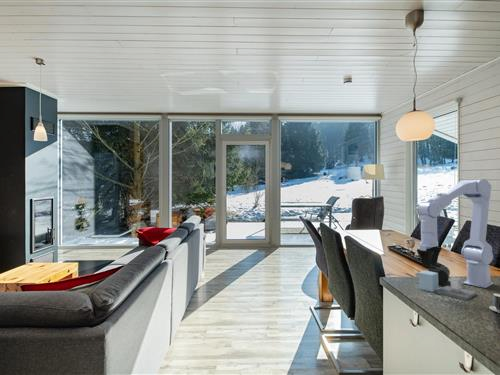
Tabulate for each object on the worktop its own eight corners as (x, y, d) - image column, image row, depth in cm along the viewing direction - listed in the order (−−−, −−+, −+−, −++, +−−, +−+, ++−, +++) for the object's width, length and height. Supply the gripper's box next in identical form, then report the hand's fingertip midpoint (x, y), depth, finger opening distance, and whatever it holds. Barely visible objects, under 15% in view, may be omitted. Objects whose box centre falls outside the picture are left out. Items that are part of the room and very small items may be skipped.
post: (453, 289, 118) (453, 276, 119) (461, 291, 116) (461, 278, 116) (450, 291, 117) (450, 278, 117) (458, 292, 115) (458, 279, 115)
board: (446, 288, 124) (446, 285, 124) (476, 294, 116) (476, 291, 116) (436, 293, 118) (436, 290, 118) (466, 300, 110) (466, 297, 110)
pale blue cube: (424, 286, 126) (424, 270, 126) (438, 289, 122) (438, 272, 122) (419, 288, 123) (418, 272, 123) (432, 292, 119) (432, 275, 119)
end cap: (448, 287, 125) (448, 270, 125) (428, 284, 129) (428, 268, 129) (450, 281, 133) (449, 265, 133) (431, 278, 137) (431, 263, 137)
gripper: (424, 229, 130) (425, 261, 130) (411, 233, 120) (412, 267, 120) (443, 231, 124) (444, 264, 124) (431, 234, 115) (431, 270, 115)
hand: (429, 266), depth 122 cm, fingers open, 7 cm apart
